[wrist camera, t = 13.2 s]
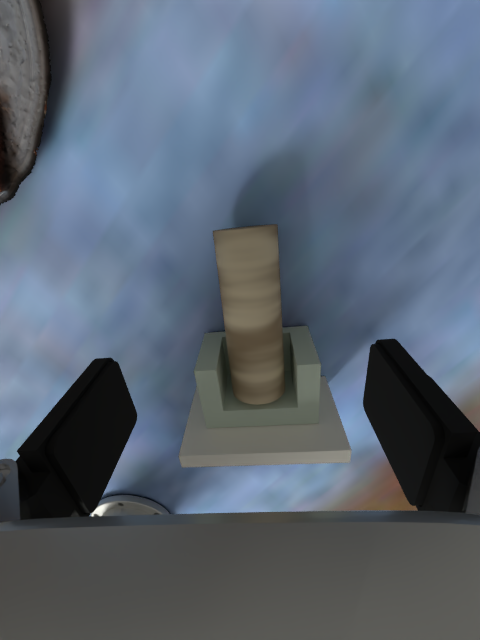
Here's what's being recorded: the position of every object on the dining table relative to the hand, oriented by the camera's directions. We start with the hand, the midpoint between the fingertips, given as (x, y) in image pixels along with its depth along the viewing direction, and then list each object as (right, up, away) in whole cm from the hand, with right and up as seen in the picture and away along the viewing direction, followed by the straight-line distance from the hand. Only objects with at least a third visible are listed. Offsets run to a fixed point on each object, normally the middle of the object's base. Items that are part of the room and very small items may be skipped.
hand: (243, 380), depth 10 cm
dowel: (+1, +3, +15) cm, 15 cm away
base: (+2, -5, +20) cm, 21 cm away
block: (+2, -1, +19) cm, 19 cm away
